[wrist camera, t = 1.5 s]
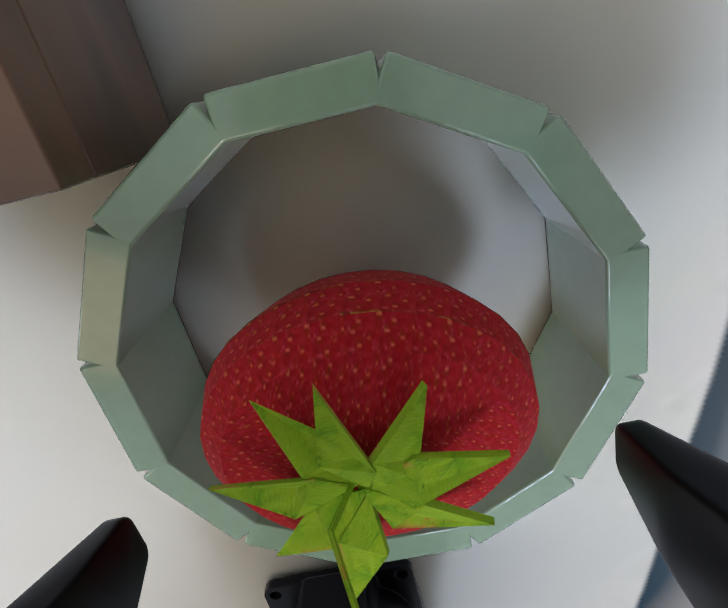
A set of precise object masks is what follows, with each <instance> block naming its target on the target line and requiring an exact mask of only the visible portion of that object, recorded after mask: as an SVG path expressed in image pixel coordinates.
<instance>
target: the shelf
mask: <svg viewBox="0 0 728 608" xmlns="http://www.w3.org/2000/svg"><path fill="white" fill-rule="evenodd" d="M169 126H170V123H169V120H168V118H167V115H166V112H165V110H164V107H163V104H162V102H161V99H160V96H159V94H158V91H157V88H156V86H155V83H154V80H153V78H152V75H151V72H150V70H149V67H148V64H147V62H146V59H145V56H144V54H143V51H142V48H141V46H140V43H139V40H138V38H137V35H136V32H135V30H134V27H133V24H132V22H131V19H130V16H129V14H128V11H127V8H126V6H125V3H124V0H0V206H1V205H5V204H9V203H13V202H17V201H21V200H25V199H29V198H33V197H37V196H41V195H45V194H49V193H53V192H57V191H61V190H64V189H67V188H69V187H72V186H75V185H78V184H81V183H84V182H86V181H89V180H92V179H94V178H97V177H100V176H103V175H106V174H109V173H112V172H114V171H117V170H120V169H123V168H126V167H129V166H131V165H134V164H137V163H139V161H140V160H141V159H142V158H143V157H144V156H145V154H146V153H147V152H148V151H149V150H150V149H151V147H152V146H153V145H154V144H155V143H156V142H157V140H158V139H159V138H160V137H161V136H162V134H163V133H164V132H165V131H166V130H167V129H168V127H169Z"/></svg>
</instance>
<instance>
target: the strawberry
mask: <svg viewBox="0 0 728 608" xmlns="http://www.w3.org/2000/svg"><path fill="white" fill-rule="evenodd" d="M539 408H540V407H539V402H538V396H537V391H536V386H535V381H534V376H533V370H532V365H531V360H530V355H529V353H528V351H527V349H526V347H525V346H524V344H523V342H522V340H521V338H520V336H519V335H518V333H517V332H516V331H515V330H514V329H513V328H512V327H511V326H510V325H509V324H508V323H507V322H506V321H505V320H504V319H503V318H502V317H501V316H500V315H499V314H497V313H496V312H494V311H492V310H491V309H489V308H488V307H486V306H485V305H483V304H482V303H480V302H478V301H477V300H475V299H473V298H471V297H469V296H468V295H466V294H464V293H462V292H460V291H458V290H456V289H454V288H452V287H451V286H449V285H447V284H444V283H442V282H439V281H436V280H434V279H431V278H429V277H426V276H422V275H417V274H412V273H407V272H403V271H390V270H366V271H356V272H346V273H342V274H338V275H334V276H330V277H326V278H322V279H319V280H317V281H314V282H312V283H310V284H307V285H305V286H302V287H300V288H298V289H296V290H294V291H293V292H291V293H289V294H288V295H286V296H285V297H283V298H281V299H280V300H278V301H276V302H275V303H274V304H273V305H271V306H270V307H269V308H267V309H266V310H265V311H263V312H262V313H261V314H259V315H258V316H257V317H255V318H254V319H253V320H251V321H250V322H249V323H248V324H247V325H246V326H244V327H243V328H242V329H241V330H240V331H239V332H238V333H237V334H236V335H235V336H234V337H232V338H231V339H230V340H229V341H228V342H227V344H226V345H225V347H224V348H223V350H222V351H221V352H220V354H219V355H218V357H217V358H216V360H215V361H214V362H213V365H212V367H211V370H210V373H209V376H208V378H207V381H206V384H205V390H204V398H203V406H202V415H201V429H200V440H201V444H202V448H203V452H204V456H205V459H206V461H207V462H208V464H209V466H210V468H211V469H212V471H213V473H214V474H215V476H216V477H217V478H218V479H219V480H220V481H221V482H222V483H223V485H211V486H210V488H209V490H210V491H213V492H216V493H219V494H222V495H225V496H228V497H231V498H234V499H237V500H240V501H242V502H243V503H244V504H246V505H247V506H248V507H250V508H251V509H253V510H254V511H256V512H257V513H259V514H260V515H261V516H263V517H264V518H266V519H269V520H271V521H273V522H275V523H278V524H280V525H282V526H284V527H287V528H290V529H294V531H293V533H292V534H291V535H290V537H289V538H288V540H287V541H286V543H285V544H284V546H283V547H282V549H281V550H280V551H279V553H278V554H277V556H284V555H292V554H300V553H308V552H317V551H325V550H333V552H334V555H335V558H336V561H337V564H338V568H339V571H340V574H341V577H342V580H343V583H344V586H345V589H346V592H347V595H348V598H349V602H350V605H351V608H359V606H358V603H357V598H358V596H359V595H360V594H361V592H362V591H363V589H364V588H365V587H366V585H367V584H368V583H369V581H370V580H371V579H372V577H373V576H374V575H375V573H376V572H377V571H378V569H379V568H380V567H381V565H382V564H383V563H384V561H385V560H386V559H387V557H388V555H389V551H390V550H389V547H388V543H387V540H386V537H385V536H391V535H396V534H401V533H407V532H412V531H416V530H419V529H422V528H432V527H461V526H490V525H495V520H494V517H492V516H489V515H486V514H482V513H479V512H475V511H472V510H468V508H469V507H471V506H472V505H474V504H475V503H477V502H479V501H480V500H481V499H483V498H484V497H485V496H486V495H487V494H488V493H489V492H490V491H491V490H493V489H494V488H495V487H496V486H497V485H498V484H499V483H500V482H501V481H502V480H503V479H504V478H505V477H506V476H507V475H508V474H509V473H510V472H511V471H512V470H513V469H514V468H515V466H516V465H517V464H518V462H519V461H520V460H521V458H522V457H523V456H524V454H525V453H526V452H527V450H528V449H529V446H530V444H531V442H532V439H533V437H534V435H535V432H536V430H537V424H538V416H539Z"/></svg>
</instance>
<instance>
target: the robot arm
mask: <svg viewBox="0 0 728 608" xmlns="http://www.w3.org/2000/svg"><path fill="white" fill-rule="evenodd" d="M615 446H616V464H617V468H618V470H619V473H620V475H621V477H622V479H623V481H624V483H625V485H626V487H627V489H628V491H629V493H630V495H631V497H632V499H633V501H634V503H635V505H636V507H637V509H638V511H639V513H640V515H641V517H642V519H643V521H644V523H645V525H646V527H647V529H648V531H649V533H650V535H651V537H652V539H653V541H654V543H655V545H656V546H657V548H658V550H659V552H660V554H661V556H662V558H663V559H664V561H665V563H666V564H667V566H668V568H669V569H670V571H671V573H672V574H673V576H674V577H675V579H676V581H677V582H678V584H679V585H680V587H681V588H682V590H683V591H684V593H685V595H686V596H687V598H688V599H689V601H690V602H691V604H692V605H693V607H694V608H728V463H727V462H725V461H723V460H721V459H719V458H717V457H715V456H713V455H711V454H709V453H707V452H705V451H703V450H701V449H699V448H697V447H695V446H693V445H691V444H689V443H687V442H685V441H683V440H681V439H679V438H677V437H675V436H673V435H671V434H669V433H667V432H665V431H663V430H661V429H659V428H657V427H655V426H653V425H651V424H649V423H647V422H645V421H642V420H635V421H630V422H624V423H620V424H618V425H617V426H616V429H615ZM147 562H148V549H147V545H146V543H145V542H144V540H143V538H142V537H141V535H140V533H139V531H138V530H137V528H136V526H135V525H134V523H133V521H132V520H131V519H129V518H128V517H121V518H116V519H111V520H107V521H105V522H103V523H102V524H101V525H100V526H99V527H98V528H96V529H95V530H94V531H93V532H92V533H91V534H90V535H88V536H87V537H86V538H85V539H84V540H83V541H82V542H81V543H79V544H78V545H77V546H76V547H75V548H74V549H73V550H72V551H70V552H69V553H68V554H67V555H66V556H65V557H64V558H62V559H61V560H60V561H59V562H58V563H57V564H56V565H55V566H53V567H52V568H51V569H50V570H49V571H48V572H47V573H45V574H44V575H43V576H42V577H41V578H40V579H39V580H38V581H36V582H35V583H34V584H33V585H32V586H31V587H30V588H28V589H27V590H26V591H25V592H24V593H23V594H22V595H21V596H19V597H18V598H17V599H16V600H15V601H14V602H13V603H12V604H10V605H9V606H8V607H7V608H137V607H138V603H139V598H140V594H141V589H142V584H143V580H144V575H145V571H146V566H147ZM265 598H266V600H267V602H268V605H269V607H270V608H351V605H350V602H349V598H348V595H347V592H346V589H345V586H344V583H343V580H342V577H341V574H340V571H339V568H337V569H331V570H325V571H319V572H314V573H308V574H302V575H296V576H290V577H284V578H278V579H273V580H270V581H269V582H268V583H267V585H266V589H265ZM357 603H358V606H359V608H424V606H423V603H422V599H421V595H420V592H419V588H418V585H417V581H416V577H415V574H414V570H413V567H412V564H411V562H410V561H409V560H408V559H401V560H395V561H390V562H384V563H383V564H382V565H381V567H380V568H379V569H378V571H377V572H376V573H375V575H374V576H373V577H372V579H371V580H370V581H369V583H368V584H367V585H366V587H365V588H364V589H363V591H362V592H361V594H360V595H359V596H358V598H357Z"/></svg>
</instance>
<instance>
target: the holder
mask: <svg viewBox="0 0 728 608" xmlns="http://www.w3.org/2000/svg"><path fill="white" fill-rule="evenodd" d="M374 106H380V107H383V108H386V109H389V110H392V111H395V112H398V113H401V114H404V115H407V116H411V117H414V118H417V119H420V120H423V121H426V122H429V123H432V124H435V125H438V126H441V127H444V128H447V129H450V130H453V131H456V132H459V133H462V134H465V135H468V136H471V137H474V138H477V139H480V140H483V141H485V142H486V143H487V145H488V146H489V147H490V148H491V150H492V151H493V152H494V154H495V155H496V156H497V157H498V159H499V160H500V161H501V162H502V164H503V165H504V166H505V167H506V169H507V170H508V171H509V173H510V174H511V175H512V176H513V178H514V179H515V180H516V181H517V183H518V184H519V185H520V187H521V188H522V189H523V190H524V192H525V193H526V194H527V195H528V197H529V198H530V199H531V200H532V202H533V203H534V204H535V206H536V207H537V208H538V209H539V211H540V212H541V213H542V214H543V216H544V217H545V219H546V232H547V245H548V258H549V271H550V284H551V298H552V312H551V314H550V316H549V318H548V320H547V322H546V324H545V326H544V328H543V330H542V332H541V334H540V336H539V338H538V340H537V342H536V344H535V346H534V348H533V349H532V351H531V353H530V360H531V365H532V370H533V376H534V381H535V386H536V391H537V396H538V402H539V407H540V408H539V416H538V424H537V430H536V432H535V435H534V437H533V439H532V442H531V444H530V446H529V449H528V450H527V452H526V453H525V454H524V456H523V457H522V458H521V460H520V461H519V462H518V464H517V465H516V466H515V468H514V469H513V470H512V471H511V472H510V473H509V474H508V475H507V476H506V477H505V478H504V479H503V480H502V481H501V482H500V483H499V484H498V485H497V486H496V487H495V488H494V489H493V490H491V491H490V492H489V493H488V494H487V495H486V496H485V497H484V498H483V499H481V500H480V501H479V502H477V503H475V504H474V505H472V506H471V507H469V508H468V510H472V511H475V512H479V513H482V514H486V515H489V516H492V517H494V520H495V525H490V526H461V527H432V528H422V529H419V530H416V531H412V532H407V533H401V534H396V535H391V536H385V537H386V540H387V543H388V547H389V550H390V551H389V555H388V557H387V559H386V560H385V561H384V562H390V561H395V560H401V559H407V558H413V557H419V556H425V555H431V554H437V553H442V552H448V551H454V550H460V549H466V548H471V547H472V544H471V539H470V536H471V537H472V538H473V539H474V540H476V541H477V542H478V543H482V542H484V541H485V540H487V539H489V538H490V537H492V536H493V535H495V534H497V533H498V532H500V531H502V530H503V529H505V528H506V527H508V526H510V525H511V524H513V523H515V522H516V521H518V520H519V519H521V518H523V517H524V516H526V515H528V514H529V513H531V512H532V511H534V510H536V509H537V508H539V507H541V506H542V505H544V504H545V503H547V502H549V501H550V500H552V499H554V498H555V497H557V496H559V495H560V494H562V493H563V492H565V491H567V490H568V489H570V488H572V487H573V486H574V482H573V480H572V478H571V477H573V478H577V479H583V477H584V476H585V474H586V472H587V471H588V469H589V468H590V466H591V465H592V463H593V462H594V460H595V458H596V457H597V455H598V454H599V452H600V451H601V449H602V448H603V446H604V444H605V443H606V441H607V440H608V438H609V437H610V435H611V434H612V432H613V430H614V429H615V427H616V426H617V424H618V423H619V421H620V420H621V418H622V416H623V415H624V413H625V412H626V410H627V409H628V407H629V405H630V404H631V402H632V401H633V399H634V398H635V396H636V395H637V393H638V391H639V390H640V388H641V387H642V385H643V384H644V380H643V379H642V378H641V377H640V376H639V375H638V374H642V373H646V372H647V358H648V291H649V247H648V245H646V244H644V243H642V242H640V240H641V239H643V238H644V237H645V233H644V231H643V230H642V228H641V227H640V226H639V224H638V223H637V221H636V220H635V219H634V217H633V216H632V214H631V213H630V212H629V210H628V209H627V207H626V206H625V205H624V203H623V202H622V200H621V199H620V197H619V196H618V195H617V193H616V192H615V190H614V189H613V188H612V186H611V185H610V183H609V182H608V181H607V179H606V178H605V176H604V175H603V174H602V172H601V171H600V169H599V168H598V166H597V165H596V164H595V162H594V161H593V159H592V158H591V157H590V155H589V154H588V152H587V151H586V150H585V148H584V147H583V145H582V144H581V143H580V141H579V140H578V138H577V137H576V135H575V134H574V133H573V131H572V130H571V128H570V127H569V126H568V124H567V123H566V121H565V120H564V119H563V117H562V116H560V115H554V114H548V112H549V107H548V106H547V105H544V104H541V103H538V102H536V101H533V100H530V99H527V98H524V97H521V96H518V95H515V94H513V93H510V92H507V91H504V90H501V89H498V88H495V87H492V86H489V85H487V84H484V83H481V82H478V81H475V80H472V79H469V78H466V77H464V76H461V75H458V74H455V73H452V72H449V71H446V70H443V69H441V68H438V67H435V66H432V65H429V64H426V63H423V62H420V61H417V60H415V59H412V58H409V57H406V56H403V55H400V54H397V53H394V52H392V51H387V52H386V53H385V55H384V56H383V57H382V58H381V59H380V60H379V62H378V63H376V58H375V54H374V53H373V51H365V52H361V53H357V54H354V55H350V56H346V57H342V58H338V59H334V60H330V61H327V62H323V63H319V64H315V65H311V66H307V67H304V68H300V69H296V70H292V71H288V72H284V73H281V74H277V75H273V76H269V77H265V78H261V79H257V80H254V81H250V82H246V83H242V84H238V85H234V86H231V87H227V88H223V89H219V90H215V91H211V92H208V93H206V94H205V95H204V101H199V102H191V103H189V104H188V105H187V106H186V108H185V109H184V110H183V111H182V112H181V113H180V115H179V116H178V117H177V118H176V119H175V120H174V122H173V123H172V124H171V125H170V126H169V127H168V129H167V130H166V131H165V132H164V133H163V134H162V136H161V137H160V138H159V139H158V140H157V142H156V143H155V144H154V145H153V146H152V147H151V149H150V150H149V151H148V152H147V153H146V154H145V156H144V157H143V158H142V159H141V160H140V161H139V163H138V164H137V165H136V166H135V167H134V168H133V170H132V171H131V172H130V173H129V174H128V175H127V177H126V178H125V179H124V180H123V181H122V182H121V184H120V185H119V186H118V187H117V188H116V189H115V191H114V192H113V193H112V194H111V195H110V197H109V198H108V199H107V200H106V201H105V202H104V204H103V205H102V206H101V207H100V208H99V209H98V211H97V212H96V213H95V214H94V215H93V218H92V219H93V221H94V222H95V223H96V225H94V226H92V227H90V228H88V229H87V230H86V241H85V255H84V269H83V283H82V298H81V312H80V326H79V340H78V354H77V359H78V360H81V361H85V362H86V363H85V364H84V365H83V366H82V367H81V368H80V371H81V373H82V374H83V376H84V378H85V380H86V382H87V383H88V385H89V387H90V389H91V390H92V392H93V394H94V396H95V398H96V399H97V401H98V403H99V405H100V407H101V408H102V410H103V412H104V414H105V416H106V417H107V419H108V421H109V423H110V424H111V426H112V428H113V430H114V432H115V433H116V435H117V437H118V439H119V441H120V442H121V444H122V446H123V448H124V450H125V451H126V453H127V455H128V457H129V459H130V460H131V462H132V464H133V466H134V467H135V469H136V471H138V472H139V471H144V470H147V472H146V474H145V476H144V479H145V480H147V481H148V482H150V483H151V484H153V485H154V486H156V487H157V488H159V489H160V490H162V491H163V492H165V493H166V494H168V495H169V496H170V497H172V498H173V499H175V500H176V501H178V502H179V503H181V504H182V505H184V506H185V507H187V508H188V509H190V510H191V511H193V512H194V513H196V514H197V515H199V516H200V517H202V518H203V519H205V520H206V521H208V522H209V523H211V524H212V525H214V526H215V527H217V528H218V529H220V530H221V531H223V532H224V533H226V534H227V535H229V536H230V537H232V538H233V539H235V540H239V539H240V538H242V537H243V536H244V535H246V534H247V536H246V540H245V544H247V545H251V546H256V547H261V548H267V549H272V550H277V551H280V550H281V549H282V547H283V546H284V544H285V543H286V541H287V540H288V538H289V537H290V535H291V534H292V533H293V531H294V529H290V528H287V527H284V526H282V525H280V524H278V523H275V522H273V521H271V520H269V519H266V518H264V517H263V516H261V515H260V514H259V513H257V512H256V511H254V510H253V509H251V508H250V507H248V506H247V505H246V504H244V503H243V502H242V501H240V500H237V499H234V498H231V497H228V496H225V495H222V494H219V493H216V492H213V491H210V490H209V488H210V486H211V485H223V483H222V482H221V481H220V480H219V479H218V478H217V477H216V476H215V474H214V473H213V471H212V469H211V468H210V466H209V464H208V462H207V461H206V459H205V456H204V452H203V448H202V444H201V440H200V429H201V415H202V406H203V398H204V390H205V384H206V381H207V379H206V376H205V374H204V372H203V369H202V367H201V365H200V363H199V360H198V358H197V356H196V353H195V351H194V349H193V346H192V344H191V342H190V340H189V337H188V335H187V333H186V330H185V328H184V326H183V323H182V321H181V319H180V317H179V314H178V312H177V310H176V307H175V305H174V303H173V297H174V290H175V284H176V277H177V271H178V265H179V258H180V252H181V245H182V239H183V232H184V226H185V220H186V213H187V207H188V206H189V205H190V203H191V202H192V201H193V200H194V199H195V198H196V197H197V196H198V195H199V194H200V193H201V192H202V191H203V189H204V188H205V187H206V186H207V185H208V184H209V183H210V182H211V181H212V180H213V179H214V178H215V176H216V175H217V174H218V173H219V172H220V171H221V170H222V169H223V168H224V167H225V166H226V165H227V164H228V162H229V161H230V160H231V159H232V158H233V157H234V156H235V155H236V154H237V153H238V152H239V151H240V150H241V148H242V147H243V146H244V145H245V144H246V143H247V142H248V141H249V140H250V139H251V138H252V137H254V136H258V135H262V134H266V133H270V132H274V131H278V130H282V129H286V128H290V127H294V126H298V125H302V124H306V123H310V122H314V121H318V120H322V119H326V118H330V117H334V116H338V115H342V114H346V113H350V112H354V111H358V110H362V109H366V108H370V107H374ZM297 555H302V556H307V557H312V558H317V559H322V560H327V561H332V562H337V561H336V558H335V555H334V552H333V550H325V551H317V552H308V553H300V554H297Z"/></svg>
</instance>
